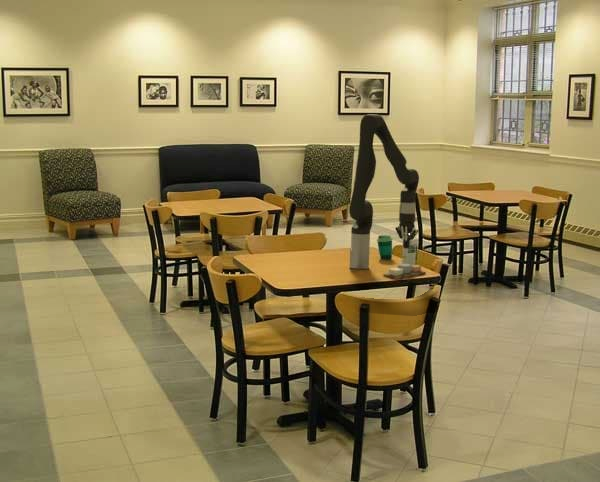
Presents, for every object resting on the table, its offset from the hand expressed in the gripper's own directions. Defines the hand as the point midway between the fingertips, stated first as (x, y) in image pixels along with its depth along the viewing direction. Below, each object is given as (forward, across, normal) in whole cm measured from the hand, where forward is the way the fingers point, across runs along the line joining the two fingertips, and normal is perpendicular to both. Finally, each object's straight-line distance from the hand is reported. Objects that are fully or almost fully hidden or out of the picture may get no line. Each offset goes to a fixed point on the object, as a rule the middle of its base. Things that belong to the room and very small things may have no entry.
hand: (406, 248), depth 380 cm
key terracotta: (+13, 0, -6) cm, 14 cm away
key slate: (+12, 0, 0) cm, 12 cm away
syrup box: (+13, +12, -17) cm, 25 cm away
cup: (+13, +33, -21) cm, 42 cm away
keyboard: (+13, 0, 0) cm, 13 cm away
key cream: (+13, 0, +6) cm, 14 cm away
